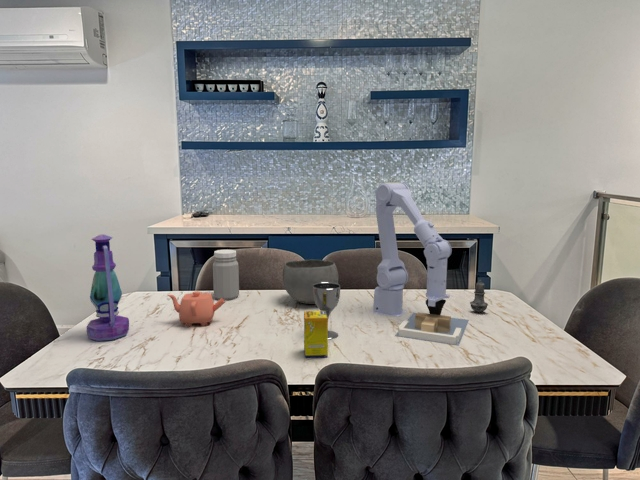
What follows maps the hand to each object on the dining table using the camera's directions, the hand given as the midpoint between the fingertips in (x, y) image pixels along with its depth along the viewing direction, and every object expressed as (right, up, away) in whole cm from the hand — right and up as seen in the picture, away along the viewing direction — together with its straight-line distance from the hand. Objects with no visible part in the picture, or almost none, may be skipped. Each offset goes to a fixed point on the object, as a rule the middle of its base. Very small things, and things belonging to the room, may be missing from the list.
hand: (434, 322), depth 139 cm
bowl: (-39, +2, +28) cm, 48 cm away
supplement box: (-37, -5, -20) cm, 42 cm away
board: (-1, -2, -1) cm, 2 cm away
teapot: (-75, -1, +5) cm, 75 cm away
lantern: (-98, -3, -7) cm, 98 cm away
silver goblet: (-34, -3, -6) cm, 34 cm away
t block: (-3, -2, -6) cm, 7 cm away
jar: (-71, +3, +34) cm, 79 cm away
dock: (-4, -2, -8) cm, 9 cm away
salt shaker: (+18, 0, +14) cm, 23 cm away
